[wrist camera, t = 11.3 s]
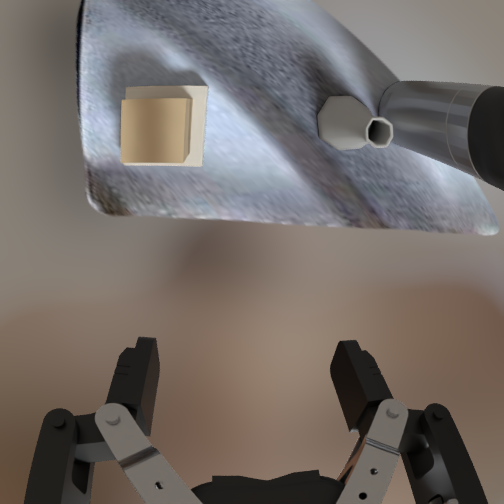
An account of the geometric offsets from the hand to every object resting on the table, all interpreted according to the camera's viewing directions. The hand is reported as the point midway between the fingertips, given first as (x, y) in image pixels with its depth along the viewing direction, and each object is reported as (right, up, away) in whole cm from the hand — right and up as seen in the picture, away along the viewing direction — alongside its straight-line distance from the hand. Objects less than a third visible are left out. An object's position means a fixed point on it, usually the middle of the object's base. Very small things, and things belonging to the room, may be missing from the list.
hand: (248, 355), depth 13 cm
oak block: (-9, +18, +18) cm, 27 cm away
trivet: (-10, +19, +21) cm, 30 cm away
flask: (+11, +20, +23) cm, 33 cm away
